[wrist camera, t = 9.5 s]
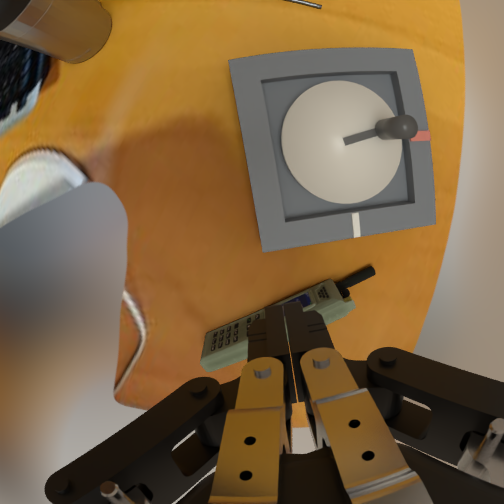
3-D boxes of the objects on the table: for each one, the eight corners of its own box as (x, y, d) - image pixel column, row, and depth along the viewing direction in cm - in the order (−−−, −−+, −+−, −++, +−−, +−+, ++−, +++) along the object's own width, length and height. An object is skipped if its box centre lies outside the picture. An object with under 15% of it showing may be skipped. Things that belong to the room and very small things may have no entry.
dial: (305, 217, 36) (317, 234, 29) (262, 103, 33) (264, 90, 25) (408, 181, 35) (441, 189, 27) (372, 72, 31) (399, 56, 24)
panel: (230, 69, 33) (227, 59, 29) (399, 57, 32) (413, 48, 28) (262, 242, 40) (262, 253, 36) (421, 217, 38) (437, 224, 34)
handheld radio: (202, 330, 44) (366, 255, 40) (214, 346, 45) (374, 275, 41) (196, 359, 38) (385, 275, 34) (209, 376, 39) (392, 297, 35)
